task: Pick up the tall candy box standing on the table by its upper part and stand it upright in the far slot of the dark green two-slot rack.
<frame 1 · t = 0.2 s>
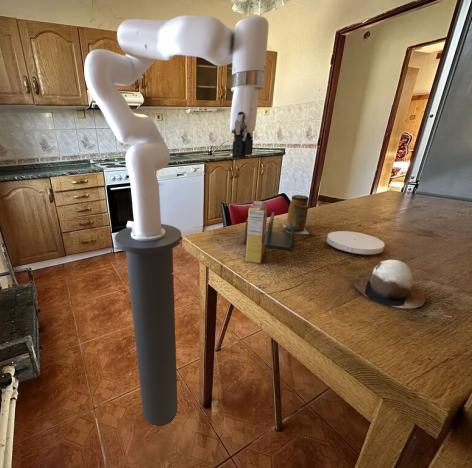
hand: (242, 156, 68), 28 cm above the table, tool pointing down, fingers open, 9 cm apart
condiment: (295, 230, 92), on the table
plastic lid: (352, 247, 77), on the table
bowler hat: (386, 292, 56), on the table
candy box: (254, 256, 74), on the table
rack: (268, 240, 84), on the table
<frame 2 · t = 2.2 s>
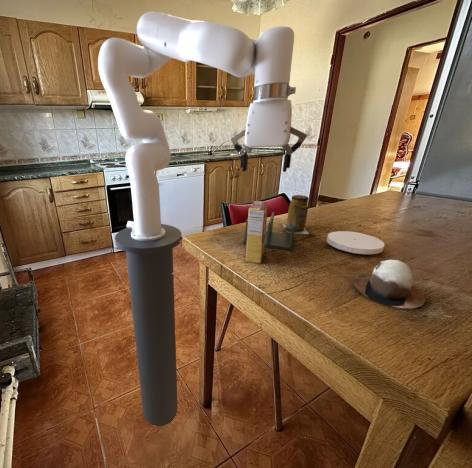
hand: (264, 170, 65), 24 cm above the table, tool pointing down, fingers open, 9 cm apart
nothing on the table moved.
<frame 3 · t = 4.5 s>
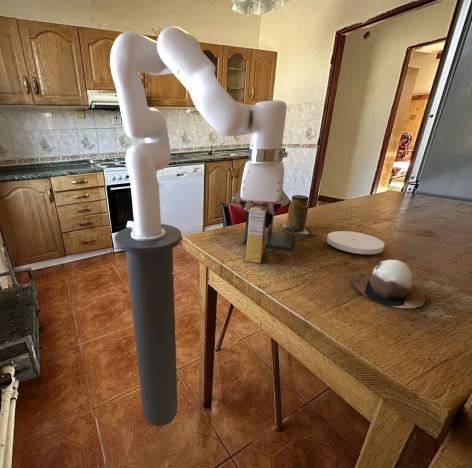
hand: (257, 224, 71), 10 cm above the table, tool pointing down, fingers closed on candy box, 4 cm apart
candy box: (254, 256, 74), on the table, touching gripper
everything else where it was.
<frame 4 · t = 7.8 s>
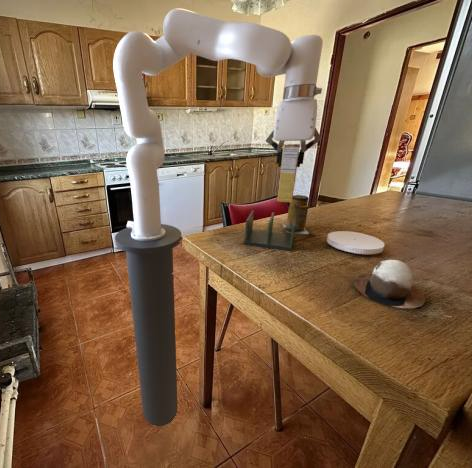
hand: (289, 165, 74), 24 cm above the table, tool pointing down, fingers closed on candy box, 4 cm apart
candy box: (284, 199, 77), point 14 cm above the table, touching gripper
everything else where it was.
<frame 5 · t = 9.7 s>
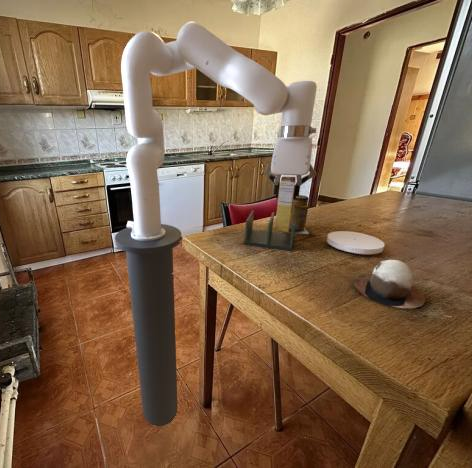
hand: (285, 197, 78), 15 cm above the table, tool pointing down, fingers closed on candy box, 4 cm apart
candy box: (281, 227, 81), point 5 cm above the table, touching gripper
everything else where it was.
when the fingers open (11 cm above the table, at t = 11.1 s): candy box stays where it is, resting on rack.
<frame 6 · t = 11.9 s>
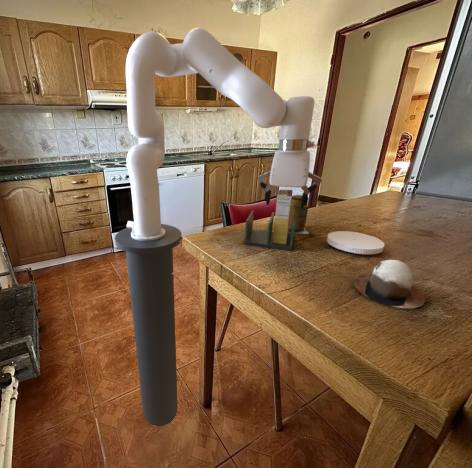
hand: (284, 205, 78), 12 cm above the table, tool pointing down, fingers open, 9 cm apart
candy box: (279, 239, 83), point 1 cm above the table, touching rack
everything else where it was.
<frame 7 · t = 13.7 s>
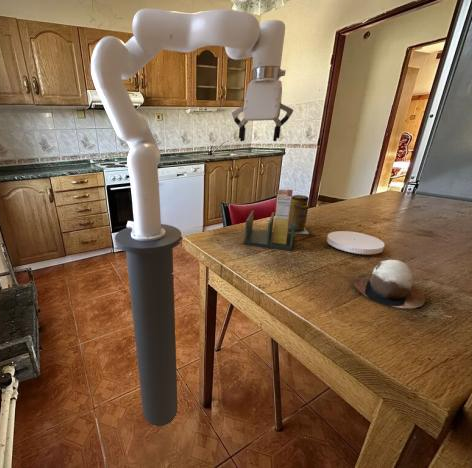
hand: (258, 141, 79), 31 cm above the table, tool pointing down, fingers open, 9 cm apart
nothing on the table moved.
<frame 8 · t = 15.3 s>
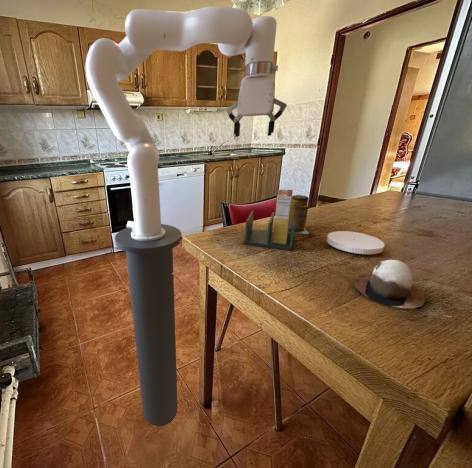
hand: (252, 136, 80), 32 cm above the table, tool pointing down, fingers open, 9 cm apart
nothing on the table moved.
at the end: candy box 0.1 cm from the target spot on the rack, point 0.8 cm above the rack's base; candy box tilted 0°; the gripper is holding nothing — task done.
